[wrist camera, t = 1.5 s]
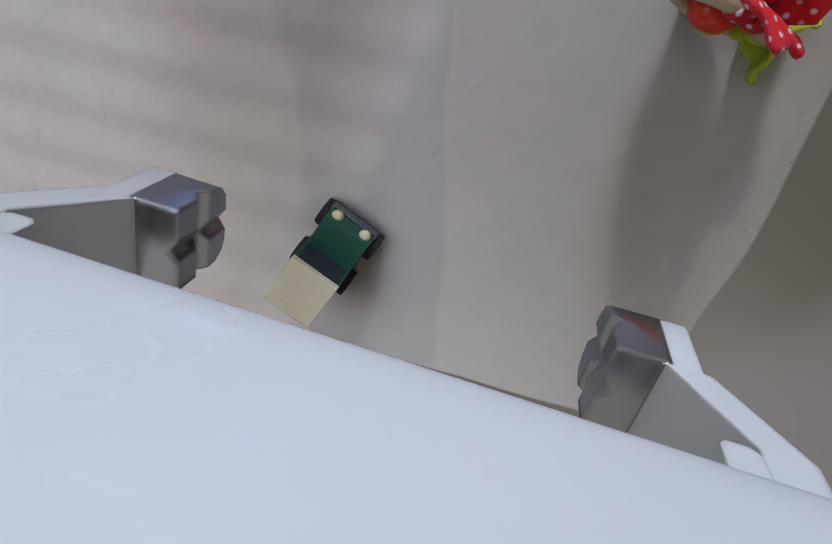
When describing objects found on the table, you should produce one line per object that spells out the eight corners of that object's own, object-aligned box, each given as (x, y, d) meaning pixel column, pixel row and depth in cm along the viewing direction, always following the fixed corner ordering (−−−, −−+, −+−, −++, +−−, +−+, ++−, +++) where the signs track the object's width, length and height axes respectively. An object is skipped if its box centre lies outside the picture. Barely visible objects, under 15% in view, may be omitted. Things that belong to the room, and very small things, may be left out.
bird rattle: (659, 47, 41) (783, 98, 37) (615, 35, 32) (772, 101, 29) (708, -47, 38) (849, 1, 34) (675, -88, 29) (859, -30, 26)
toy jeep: (344, 288, 54) (312, 336, 47) (295, 253, 54) (255, 295, 46) (391, 227, 50) (364, 269, 43) (339, 187, 49) (302, 223, 42)
